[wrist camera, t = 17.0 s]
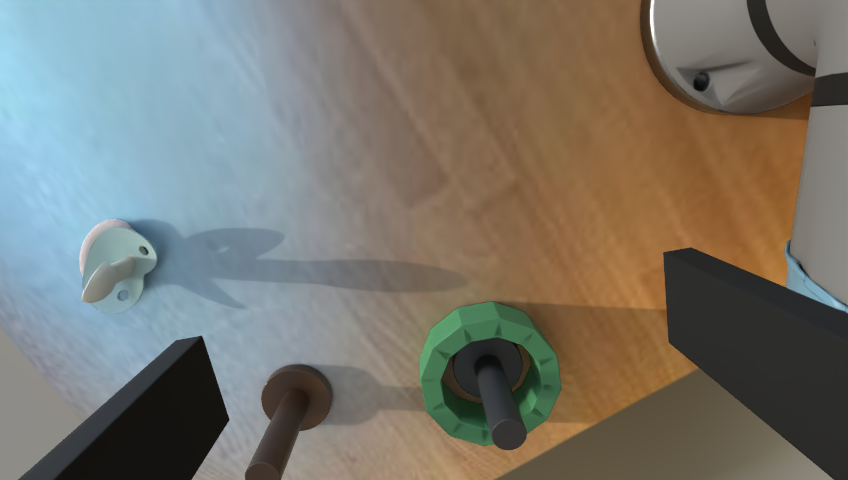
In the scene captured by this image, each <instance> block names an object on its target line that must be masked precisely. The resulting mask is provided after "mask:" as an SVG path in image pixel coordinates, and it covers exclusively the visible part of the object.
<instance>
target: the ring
mask: <svg viewBox="0 0 848 480" xmlns="http://www.w3.org/2000/svg"><path fill="white" fill-rule="evenodd" d="M496 337H499V338H502V339H505V340H508V341H511V342H514V343H517V344H520V345H523V347H524V348H525V349H526V350H527V351H528V352H529V355H530V363H531V366H530V369H529V371H528V373H527V375H526V378H525V380H524V382H523V384H522V386H521V387H520V388H518V389H517V390H516V391H514V392H513V396H514V398H515V401H516V404H517V406H518V409H519V412H520V414H521V417H522V420H523V422H524V425H525V427H526V431H527V434H528V433H529V432H530V431H532V430H533V429H534V428H536V427H537V426H539V425H540V424H541V423H543V422H544V421H545V420H547V418H548V416H549V414H550V412H551V410H552V408H553V406H554V404H555V402H556V399H557V397H558V395H559V393H560V391H561V380H560V372H559V364H558V356H557V354H556V352H555V351H554V349H553V348H552V346H551V345H550V343H549V342H548V340H547V338H546V337H545V335H544V334H543V333H542V332H541V331H540V330H539V328H538V327H537V326H536V325H535V324H534V323H533V321H532V320H531V319H530V318H529V317H528V316H527V314H526V313H525V312H523V311H520V310H517V309H514V308H511V307H508V306H505V305H502V304H499V303H496V302H492V301H491V302H486V303H480V304H475V305H469V306H463V307H458V308H457V309H455V310H454V311H453V312H452V313H450V314H449V315H448V316H447V317H445V318H444V319H443V320H442V321H440V322H439V323H438V324H437V325H435V326H434V327H433V328H432V329H431V330H430V333H429V335H428V338H427V340H426V343H425V346H424V348H423V351H422V353H421V356H420V382H421V387H422V392H423V397H424V401H425V406H426V411H427V413H428V414H429V415H430V416H431V417H432V418H433V419H434V420H435V421H436V422H437V423H438V424H439V425H440V426H441V427H442V428H443V429H444V430H445V431H446V432H447V433H448V434H449V435H450V436H452V437H455V438H459V439H462V440H465V441H469V442H472V443H475V444H479V445H482V446H487V445H492V444H494V442H493V441H492V437H491V433H490V430H489V426H488V422H487V418H486V414H485V410H484V406H483V404H477V403H474V402H471V401H468V400H464V399H461V398H458V397H457V396H456V395H455V394H454V393H453V392H452V391H451V390H450V389H449V388H448V387H447V386H446V385H445V384H444V383H443V382H442V376H443V373H444V371H445V369H446V366H447V364H448V361H449V359H450V357H452V356H453V355H454V354H455V353H457V352H458V351H459V350H461V349H462V348H463V347H464V346H466V345H467V344H468V343H470V342H473V341H479V340H484V339H490V338H496Z"/></svg>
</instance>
